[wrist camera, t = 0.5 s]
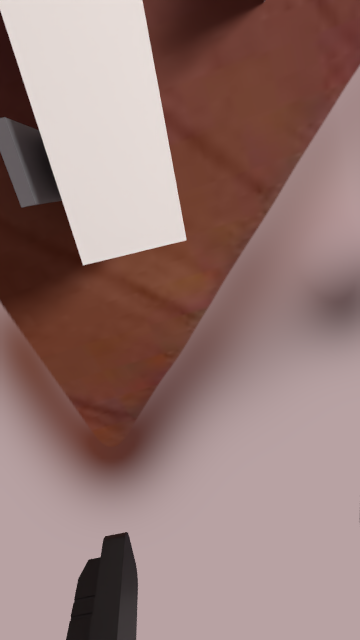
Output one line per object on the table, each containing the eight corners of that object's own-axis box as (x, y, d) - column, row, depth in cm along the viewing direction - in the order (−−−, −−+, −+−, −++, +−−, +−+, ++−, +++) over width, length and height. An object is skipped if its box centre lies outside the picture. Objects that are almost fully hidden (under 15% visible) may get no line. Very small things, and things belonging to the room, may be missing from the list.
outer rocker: (34, 137, 21) (-16, 121, 15) (49, 134, 21) (4, 117, 15) (56, 201, 22) (17, 208, 17) (69, 198, 22) (35, 204, 17)
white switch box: (-10, -69, 22) (-160, -445, 9) (81, -76, 23) (63, -426, 10) (85, 237, 30) (77, 266, 17) (149, 223, 31) (186, 240, 18)
